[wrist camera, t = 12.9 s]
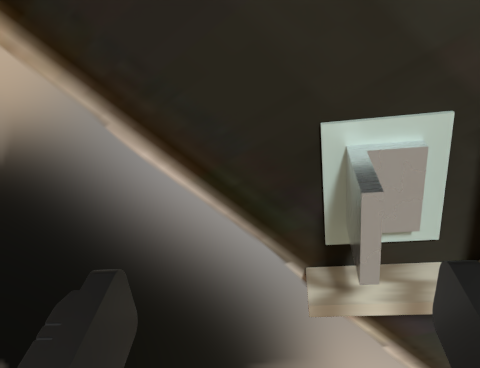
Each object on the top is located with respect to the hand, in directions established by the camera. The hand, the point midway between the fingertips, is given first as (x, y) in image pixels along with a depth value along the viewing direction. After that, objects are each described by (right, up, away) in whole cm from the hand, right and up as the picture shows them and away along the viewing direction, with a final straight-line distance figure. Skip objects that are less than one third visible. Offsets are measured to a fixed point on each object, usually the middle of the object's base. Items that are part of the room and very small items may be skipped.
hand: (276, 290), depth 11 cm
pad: (+11, +3, +24) cm, 27 cm away
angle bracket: (+11, +3, +24) cm, 27 cm away
